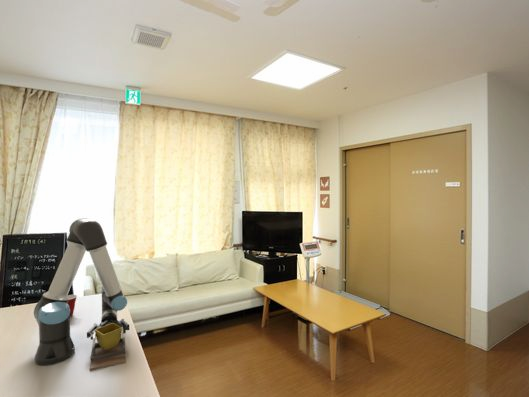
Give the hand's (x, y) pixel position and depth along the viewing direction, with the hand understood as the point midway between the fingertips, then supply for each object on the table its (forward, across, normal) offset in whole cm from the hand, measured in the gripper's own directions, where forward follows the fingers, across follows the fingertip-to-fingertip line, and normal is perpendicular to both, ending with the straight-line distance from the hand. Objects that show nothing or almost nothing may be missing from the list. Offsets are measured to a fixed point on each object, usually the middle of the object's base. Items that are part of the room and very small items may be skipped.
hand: (108, 338), depth 138 cm
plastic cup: (-59, +24, -9) cm, 64 cm away
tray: (-1, 0, -8) cm, 9 cm away
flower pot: (-4, 0, -6) cm, 7 cm away
